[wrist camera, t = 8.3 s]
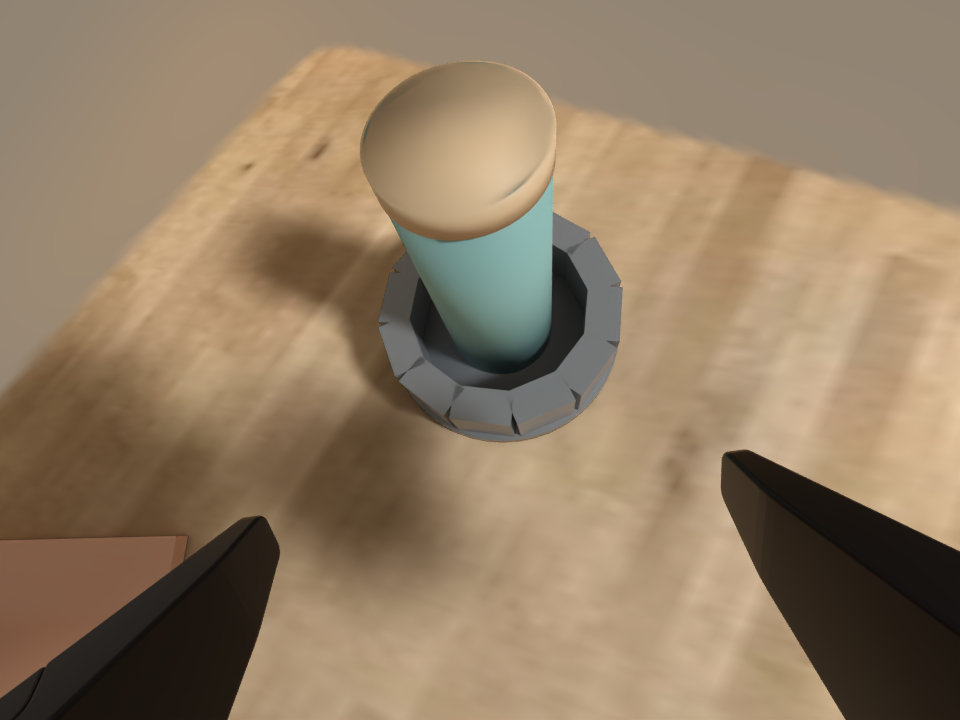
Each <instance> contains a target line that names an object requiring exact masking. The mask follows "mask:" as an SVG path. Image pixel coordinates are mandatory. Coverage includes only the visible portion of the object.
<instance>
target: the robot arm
mask: <svg viewBox="0 0 960 720" xmlns="http://www.w3.org/2000/svg"><path fill="white" fill-rule="evenodd" d="M721 493H722V496H723V499H724V502H725V504H726V506H727V508H728V510H729V513H730V515H731V517H732V519H733V521H734V523H735V525H736V528H737V530H738V532H739V534H740V536H741V538H742V540H743V543H744V545H745V547H746V549H747V551H748V553H749V556H750V558H751V560H752V562H753V564H754V566H755V568H756V570H757V572H758V574H759V576H760V578H761V580H762V582H763V583H764V585H765V587H766V589H767V590H768V592H769V594H770V595H771V597H772V599H773V600H774V602H775V604H776V605H777V607H778V609H779V610H780V612H781V613H782V615H783V617H784V618H785V620H786V622H787V623H788V625H789V627H790V628H791V630H792V632H793V633H794V635H795V637H796V638H797V640H798V642H799V643H800V645H801V647H802V648H803V650H804V652H805V653H806V655H807V657H808V658H809V660H810V662H811V663H812V665H813V667H814V668H815V670H816V672H817V673H818V675H819V677H820V678H821V680H822V681H823V683H824V685H825V686H826V688H827V690H828V691H829V693H830V695H831V696H832V698H833V700H834V701H835V703H836V705H837V706H838V708H839V710H840V711H841V713H842V715H843V716H844V718H845V720H960V551H958V550H956V549H954V548H952V547H950V546H948V545H946V544H943V543H941V542H939V541H937V540H935V539H933V538H931V537H929V536H927V535H925V534H923V533H921V532H918V531H916V530H914V529H912V528H910V527H908V526H906V525H904V524H902V523H900V522H898V521H896V520H894V519H891V518H889V517H887V516H885V515H883V514H881V513H879V512H877V511H875V510H873V509H871V508H869V507H866V506H864V505H862V504H860V503H858V502H856V501H854V500H852V499H850V498H848V497H846V496H844V495H841V494H839V493H837V492H835V491H833V490H831V489H829V488H827V487H825V486H823V485H821V484H819V483H816V482H814V481H812V480H810V479H808V478H806V477H804V476H802V475H800V474H798V473H796V472H794V471H791V470H789V469H787V468H785V467H783V466H781V465H779V464H777V463H775V462H773V461H771V460H769V459H766V458H764V457H762V456H760V455H758V454H756V453H754V452H752V451H749V450H737V451H730V452H726V453H724V454H723V457H722V468H721ZM279 555H280V549H279V544H278V542H277V540H276V538H275V536H274V534H273V532H272V530H271V527H270V525H269V523H268V521H267V520H266V518H264V517H263V516H252V517H245V518H242V519H240V520H239V521H237V522H236V523H235V524H233V525H232V526H231V527H229V528H228V529H227V530H225V531H224V532H223V533H221V534H220V535H218V536H217V537H216V538H214V539H213V540H212V541H210V542H209V543H208V544H206V545H205V546H204V547H202V548H201V549H200V550H198V551H197V552H196V553H194V554H193V555H192V556H190V557H189V558H188V559H186V560H185V561H184V562H182V563H181V564H180V565H178V566H177V567H176V568H174V569H173V570H172V571H170V572H169V573H168V574H166V575H165V576H164V577H162V578H161V579H160V580H158V581H157V582H156V583H154V584H153V585H152V586H150V587H149V588H148V589H146V590H145V591H143V592H142V593H141V594H139V595H138V596H137V597H135V598H134V599H133V600H131V601H130V602H129V603H127V604H126V605H125V606H123V607H122V608H121V609H119V610H118V611H117V612H115V613H114V614H113V615H111V616H110V617H109V618H107V619H106V620H105V621H103V622H102V623H101V624H99V625H98V626H97V627H95V628H94V629H93V630H91V631H90V632H89V633H87V634H86V635H85V636H83V637H82V638H81V639H79V640H78V641H77V642H75V643H74V644H73V645H71V646H70V647H69V648H67V649H66V650H64V651H63V652H62V653H60V654H59V655H58V656H56V657H55V658H54V659H52V660H51V661H50V662H48V664H47V665H46V667H42V668H40V669H39V670H37V671H36V672H35V673H33V674H32V675H31V676H29V677H28V678H27V679H25V680H24V681H23V682H21V683H20V684H19V685H17V686H16V687H15V688H13V689H12V690H11V691H9V692H8V693H7V694H5V695H4V696H2V697H1V698H0V720H228V717H229V714H230V711H231V709H232V706H233V703H234V701H235V698H236V695H237V692H238V690H239V687H240V684H241V681H242V679H243V676H244V673H245V671H246V668H247V665H248V662H249V660H250V657H251V654H252V651H253V649H254V646H255V643H256V640H257V637H258V634H259V631H260V628H261V624H262V621H263V617H264V613H265V610H266V606H267V602H268V598H269V594H270V591H271V587H272V583H273V579H274V575H275V572H276V568H277V564H278V560H279Z"/></svg>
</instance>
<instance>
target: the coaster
mask: <svg viewBox="0 0 960 720" xmlns="http://www.w3.org/2000/svg"><path fill="white" fill-rule="evenodd" d="M187 538H188V536H150V537H112V538H74V539H36V540H0V698H1V697H2V696H4V695H5V694H7V693H8V692H9V691H11V690H12V689H13V688H15V687H16V686H17V685H19V684H20V683H21V682H23V681H24V680H25V679H27V678H28V677H29V676H31V675H32V674H33V673H35V672H36V671H37V670H39V669H40V668H42V667H46V665H47V664H48V662H50V661H51V660H52V659H54V658H55V657H56V656H58V655H59V654H60V653H62V652H63V651H64V650H66V649H67V648H69V647H70V646H71V645H73V644H74V643H75V642H77V641H78V640H79V639H81V638H82V637H83V636H85V635H86V634H87V633H89V632H90V631H91V630H93V629H94V628H95V627H97V626H98V625H99V624H101V623H102V622H103V621H105V620H106V619H107V618H109V617H110V616H111V615H113V614H114V613H115V612H117V611H118V610H119V609H121V608H122V607H123V606H125V605H126V604H127V603H129V602H130V601H131V600H133V599H134V598H135V597H137V596H138V595H139V594H141V593H142V592H143V591H145V590H146V589H148V588H149V587H150V586H152V585H153V584H154V583H156V582H157V581H158V580H160V579H161V578H162V577H164V576H165V575H166V574H168V573H169V572H170V571H172V570H173V569H174V568H176V567H177V566H178V565H180V564H181V563H182V562H183V561H184V555H185V549H186V544H187Z"/></svg>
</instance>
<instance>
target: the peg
mask: <svg viewBox="0 0 960 720" xmlns="http://www.w3.org/2000/svg"><path fill="white" fill-rule="evenodd" d="M360 157H361V164H362V167H363V171H364V173H365V175H366V177H367V179H368V181H369V183H370V185H371V187H372V189H373V191H374V193H375V195H376V197H377V199H378V201H379V203H380V204H381V206H382V208H383V209H384V210H385V212H386V213H387V215H388V216H389V217H390V219H391V221H392V223H393V225H394V227H395V229H396V231H397V233H398V234H399V236H400V238H401V240H402V242H403V244H404V246H405V248H406V250H407V252H408V254H409V256H410V258H411V260H412V262H413V264H414V266H415V268H416V269H417V271H418V273H419V275H420V277H421V279H422V281H423V283H424V285H425V287H426V289H427V291H428V293H429V295H430V297H431V299H432V301H433V303H434V304H435V306H436V308H437V310H438V312H439V314H440V316H441V318H442V320H443V322H444V324H445V326H446V328H447V330H448V332H449V334H450V336H451V338H452V339H453V341H454V343H455V345H456V347H457V349H458V351H459V353H460V354H461V356H462V357H463V358H464V359H465V360H466V362H468V363H469V364H470V365H471V366H473V367H475V368H476V369H478V370H480V371H483V372H486V373H490V374H501V375H502V374H510V373H515V372H518V371H521V370H523V369H525V368H527V367H528V366H530V365H531V364H533V363H534V362H535V361H536V360H537V359H538V358H539V357H540V356H541V355H542V354H543V352H544V351H545V349H546V347H547V345H548V343H549V340H550V336H551V319H552V230H553V172H554V167H555V159H556V118H555V112H554V109H553V106H552V103H551V101H550V99H549V97H548V95H547V94H546V93H545V91H544V90H543V89H542V87H541V86H540V85H539V84H538V83H537V82H536V81H534V80H533V79H532V78H531V77H529V76H528V75H526V74H525V73H523V72H521V71H519V70H517V69H515V68H512V67H510V66H507V65H504V64H500V63H496V62H489V61H478V60H477V61H476V60H468V61H457V62H451V63H446V64H442V65H438V66H435V67H432V68H429V69H426V70H424V71H422V72H419V73H417V74H415V75H413V76H411V77H410V78H408V79H406V80H405V81H403V82H402V83H400V84H399V85H398V86H396V87H395V88H393V89H392V90H391V91H390V92H389V93H388V94H387V95H386V96H385V97H384V98H383V99H382V100H381V101H380V102H379V103H378V105H377V106H376V107H375V109H374V110H373V112H372V113H371V115H370V117H369V119H368V121H367V122H366V125H365V128H364V130H363V133H362V138H361V143H360Z"/></svg>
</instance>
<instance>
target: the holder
mask: <svg viewBox="0 0 960 720" xmlns="http://www.w3.org/2000/svg"><path fill="white" fill-rule="evenodd" d="M589 238H590V232H588V231H587V230H585V229H583V228H581V227H579V226H577V225H576V224H574V223H572V222H570V221H568V220H567V219H565V218H563V217H561V216H559V215H557V214H556V213H554V212H553V230H552V319H551V336H550V340H549V343H548V345H547V347H546V349H545V351H544V352H543V354H542V355H541V356H540V357H539V358H538V359H537V360H536V361H535V362H534V363H533V364H531V365H530V366H528V367H527V368H525V369H523V370H521V371H518V372H515V373H510V374H502V375H501V374H490V373H486V372H483V371H480V370H478V369H476V368H475V367H473V366H471V365H470V364H469V363H468V362H466V360H465V359H464V358H463V357H462V356H461V354H460V353H459V351H458V349H457V347H456V345H455V343H454V341H453V339H452V338H451V336H450V334H449V332H448V330H447V328H446V326H445V324H444V322H443V320H442V318H441V316H440V314H439V312H438V310H437V308H436V306H435V304H434V303H433V301H432V299H431V297H430V295H429V293H428V291H427V289H426V287H425V285H424V283H423V281H422V279H421V277H420V275H419V273H418V271H417V269H416V268H415V266H414V264H413V262H412V260H411V258H410V256H409V254H408V252H406V253H405V254H404V255H403V256H402V257H401V259H400V260H399V261H398V262H397V263H396V264H395V265H394V266H393V269H394V270H395V272H396V273H390V274H389V278H388V282H387V287H386V291H385V295H384V299H383V303H382V307H381V312H380V316H379V320H378V322H379V323H380V324H381V325H382V326H381V327H378V328H379V331H380V334H381V337H382V340H383V343H384V345H385V348H386V351H387V354H388V357H389V360H390V363H391V366H392V369H393V372H394V375H395V377H396V378H397V379H398V380H399V382H400V383H401V384H402V385H403V386H404V387H405V388H406V389H407V390H408V392H409V393H410V395H411V396H412V397H413V399H414V400H415V401H416V402H417V403H418V405H419V406H420V407H421V408H422V409H423V410H424V411H425V412H427V413H428V414H429V415H430V416H431V417H432V418H433V419H434V420H436V421H437V422H439V423H440V424H442V425H443V426H445V427H446V428H448V429H450V430H452V431H454V432H456V433H458V434H461V435H464V436H467V437H470V438H473V439H477V440H483V441H488V442H517V441H523V440H528V439H533V438H537V437H539V436H542V435H545V434H548V433H550V432H552V431H554V430H556V429H558V428H560V427H562V426H564V425H566V424H567V423H569V422H570V421H571V420H573V419H574V418H576V417H577V416H578V415H579V414H580V413H582V412H583V411H584V410H585V409H586V408H587V407H588V406H589V405H590V404H591V402H592V401H593V400H594V399H595V398H596V397H597V395H598V394H599V392H600V390H601V389H602V387H603V386H604V384H605V382H606V380H607V378H608V376H609V373H610V371H611V369H612V366H613V363H614V360H615V356H616V353H617V348H618V344H619V342H620V324H621V307H622V289H623V287H620V283H621V280H620V278H619V277H618V275H617V273H616V272H615V270H614V268H613V267H612V265H611V263H610V262H609V260H608V258H607V257H606V255H605V253H604V252H603V250H602V248H601V246H600V245H599V243H598V241H597V240H596V238H595V237H593V238H590V239H589Z"/></svg>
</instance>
